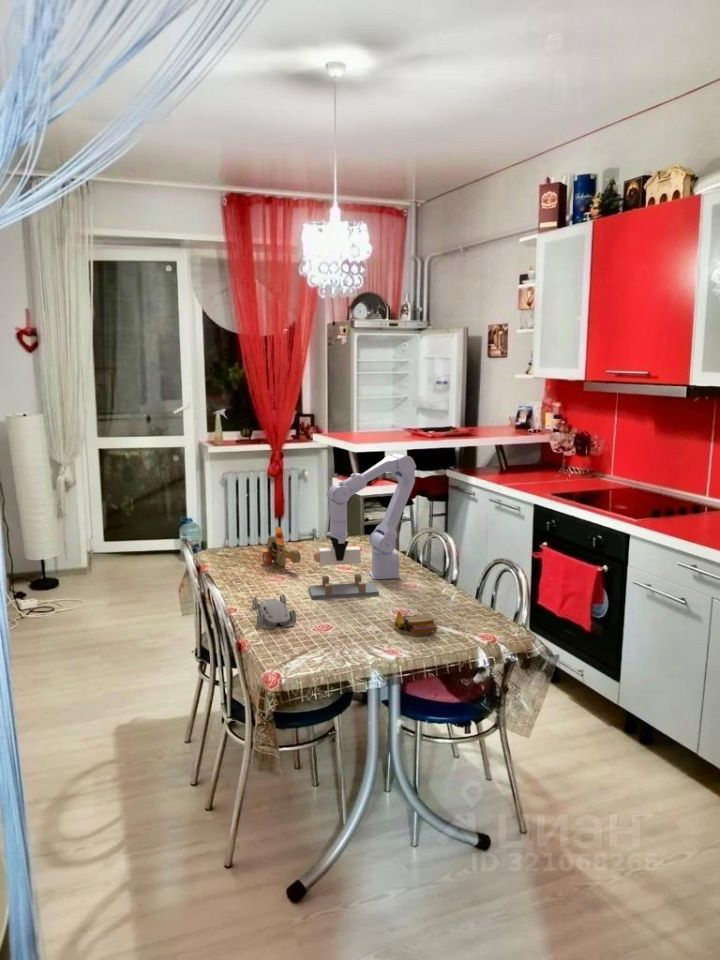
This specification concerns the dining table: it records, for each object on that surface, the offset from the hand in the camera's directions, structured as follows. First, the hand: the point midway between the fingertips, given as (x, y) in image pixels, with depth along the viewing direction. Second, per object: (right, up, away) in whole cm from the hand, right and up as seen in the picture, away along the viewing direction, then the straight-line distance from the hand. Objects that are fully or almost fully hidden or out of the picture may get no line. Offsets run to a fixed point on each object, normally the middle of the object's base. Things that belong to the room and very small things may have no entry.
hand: (338, 558), depth 249 cm
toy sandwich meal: (+24, -16, -40) cm, 50 cm away
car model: (-19, -15, -31) cm, 39 cm away
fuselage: (0, -2, 0) cm, 2 cm away
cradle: (+2, -10, -9) cm, 14 cm away
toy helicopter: (-22, -5, +20) cm, 30 cm away
